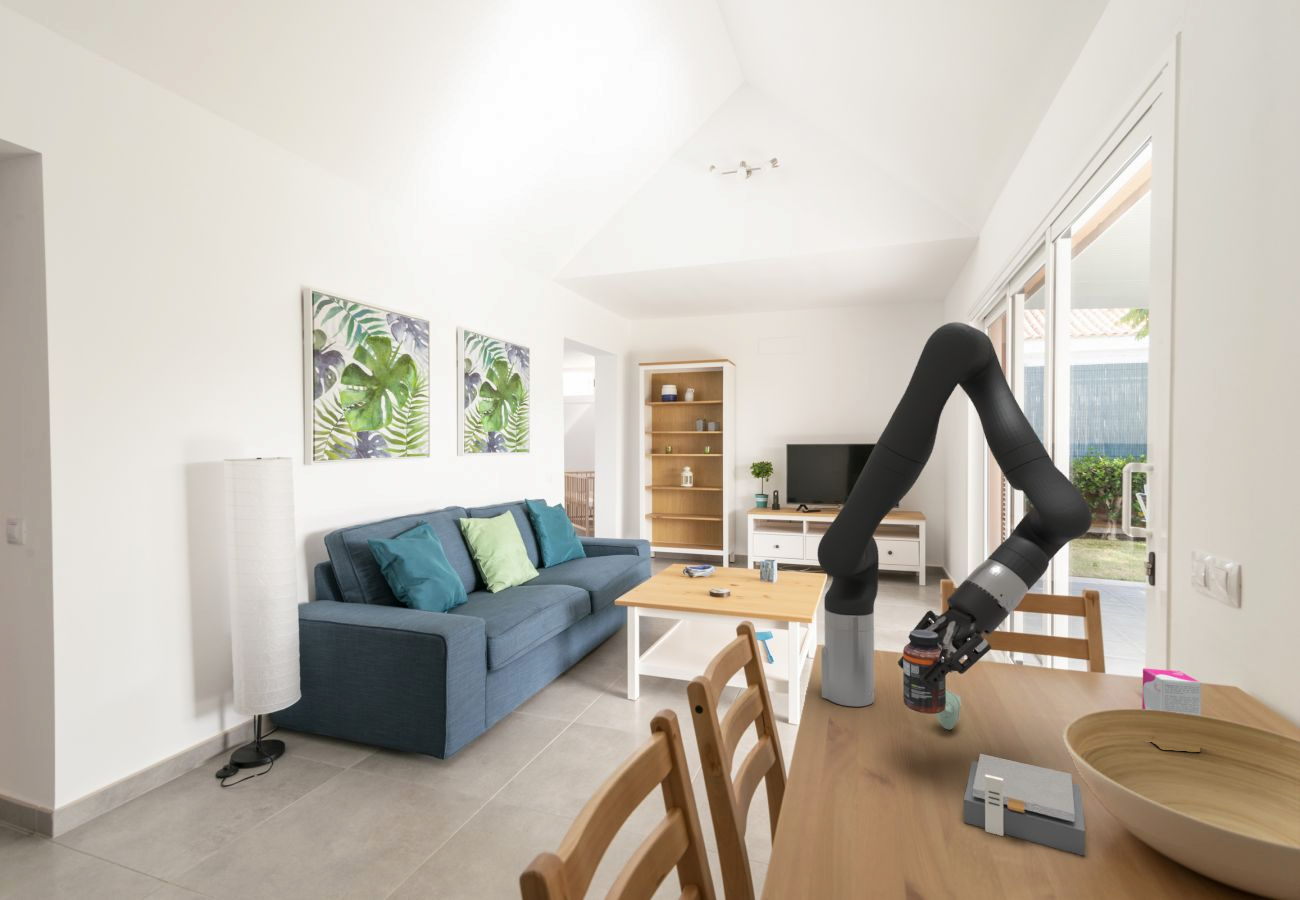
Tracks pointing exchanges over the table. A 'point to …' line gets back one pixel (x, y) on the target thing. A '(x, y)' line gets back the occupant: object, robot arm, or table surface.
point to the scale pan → (1028, 787)
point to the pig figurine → (950, 711)
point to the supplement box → (1171, 692)
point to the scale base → (1023, 817)
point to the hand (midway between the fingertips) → (913, 675)
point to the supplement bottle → (914, 665)
